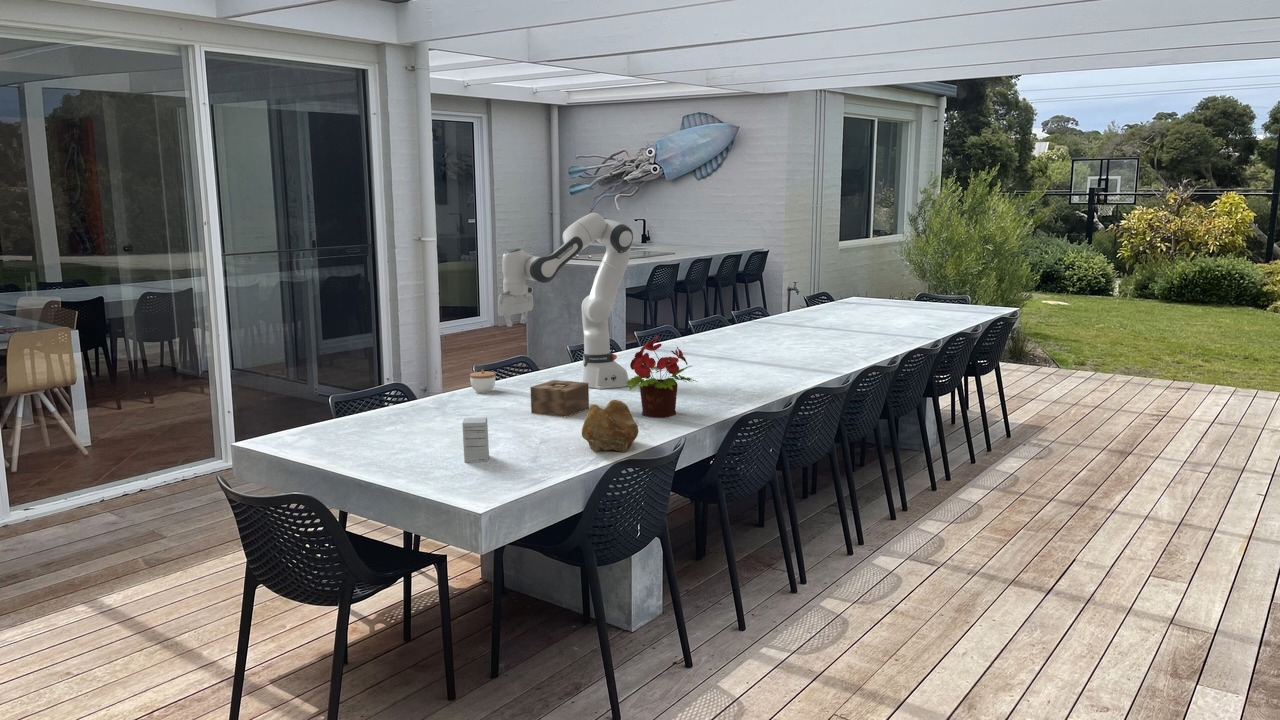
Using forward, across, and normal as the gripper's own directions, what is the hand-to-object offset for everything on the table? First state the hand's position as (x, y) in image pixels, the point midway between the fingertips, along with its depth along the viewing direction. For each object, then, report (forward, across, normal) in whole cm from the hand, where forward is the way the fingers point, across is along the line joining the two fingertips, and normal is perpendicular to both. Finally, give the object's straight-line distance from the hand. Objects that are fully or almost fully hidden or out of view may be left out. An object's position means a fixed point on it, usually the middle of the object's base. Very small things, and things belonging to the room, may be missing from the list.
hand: (516, 324), depth 380 cm
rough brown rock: (+32, -51, -71) cm, 93 cm away
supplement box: (+31, -80, -37) cm, 93 cm away
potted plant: (+32, -3, -63) cm, 71 cm away
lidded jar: (+31, +9, +25) cm, 40 cm away
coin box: (+31, -10, -25) cm, 41 cm away
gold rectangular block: (+30, -10, -25) cm, 41 cm away
